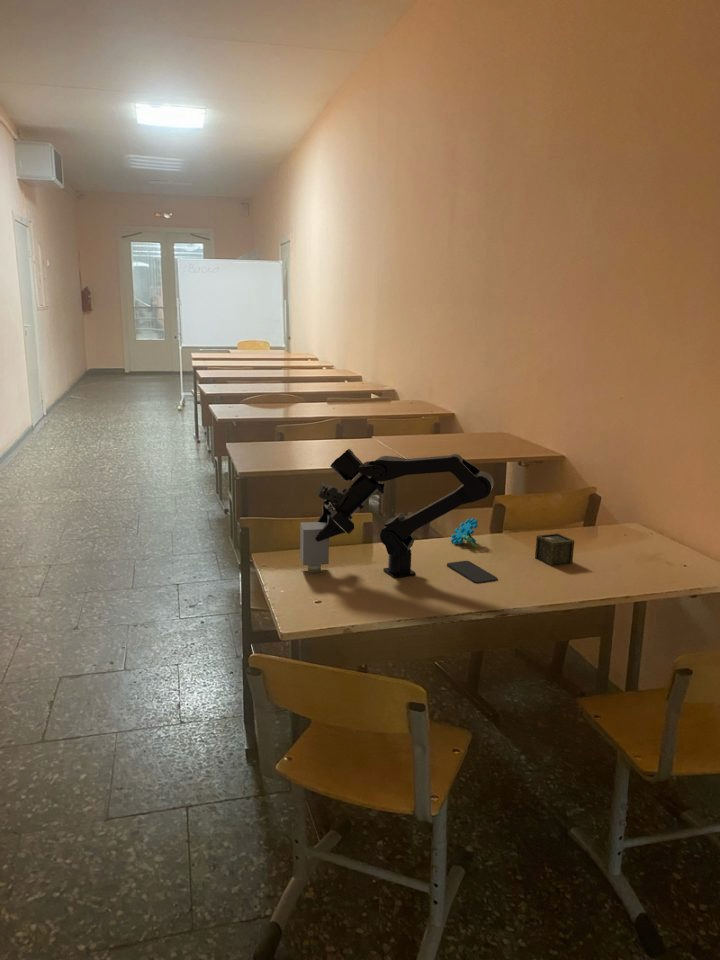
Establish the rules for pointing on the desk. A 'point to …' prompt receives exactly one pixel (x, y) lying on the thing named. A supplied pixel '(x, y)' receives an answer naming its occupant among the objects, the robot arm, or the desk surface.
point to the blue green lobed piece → (465, 532)
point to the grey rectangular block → (313, 544)
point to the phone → (472, 572)
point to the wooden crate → (554, 549)
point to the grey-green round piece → (314, 568)
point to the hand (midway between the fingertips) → (314, 536)
